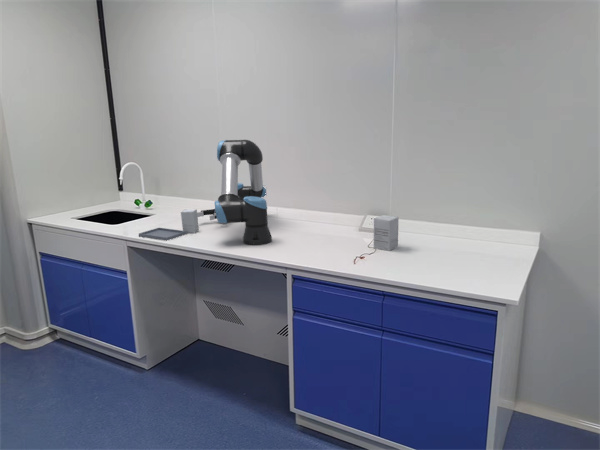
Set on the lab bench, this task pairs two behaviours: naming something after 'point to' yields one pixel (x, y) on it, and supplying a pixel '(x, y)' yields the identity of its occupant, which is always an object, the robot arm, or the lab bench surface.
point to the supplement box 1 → (190, 220)
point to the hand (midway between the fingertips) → (202, 216)
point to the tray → (162, 233)
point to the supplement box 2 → (386, 232)
